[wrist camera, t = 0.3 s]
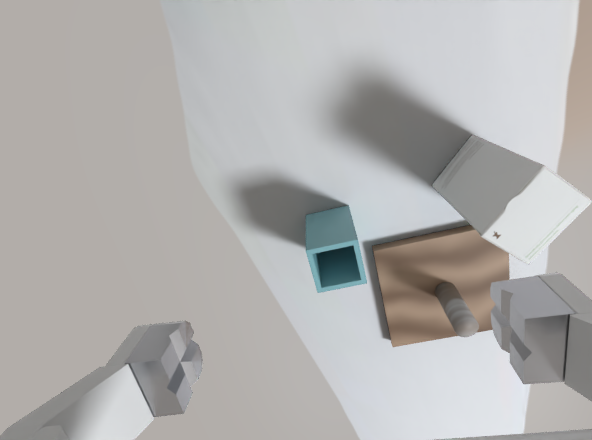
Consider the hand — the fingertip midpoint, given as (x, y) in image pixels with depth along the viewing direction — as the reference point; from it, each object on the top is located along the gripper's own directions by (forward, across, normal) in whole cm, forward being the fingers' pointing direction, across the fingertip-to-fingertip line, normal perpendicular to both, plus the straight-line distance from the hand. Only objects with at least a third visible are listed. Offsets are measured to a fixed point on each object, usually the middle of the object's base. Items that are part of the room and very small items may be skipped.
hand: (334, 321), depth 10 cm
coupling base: (+41, -12, +27) cm, 51 cm away
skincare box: (+40, -16, +10) cm, 45 cm away
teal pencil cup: (+40, +2, +15) cm, 42 cm away
